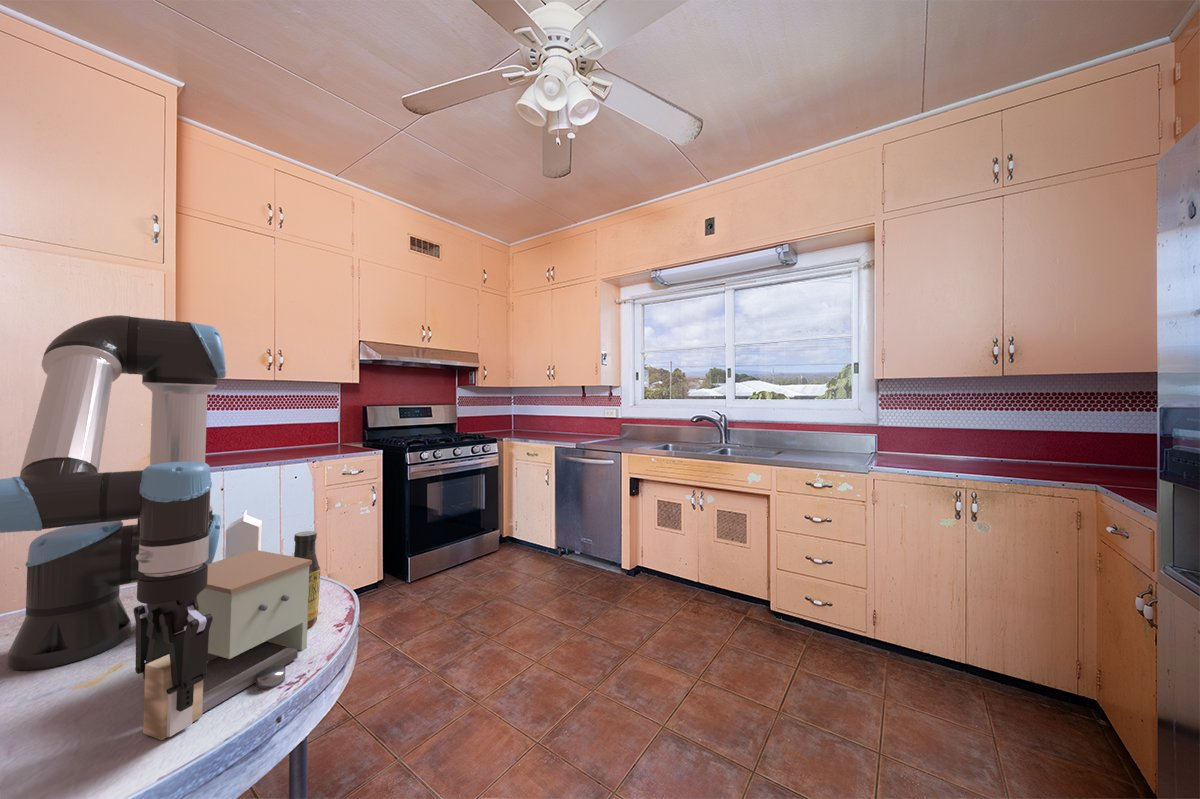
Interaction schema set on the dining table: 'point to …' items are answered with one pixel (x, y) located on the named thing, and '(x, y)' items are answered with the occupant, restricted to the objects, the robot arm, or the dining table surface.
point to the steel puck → (270, 677)
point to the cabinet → (256, 602)
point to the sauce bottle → (307, 551)
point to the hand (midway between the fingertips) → (168, 725)
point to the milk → (243, 536)
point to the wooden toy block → (196, 690)
